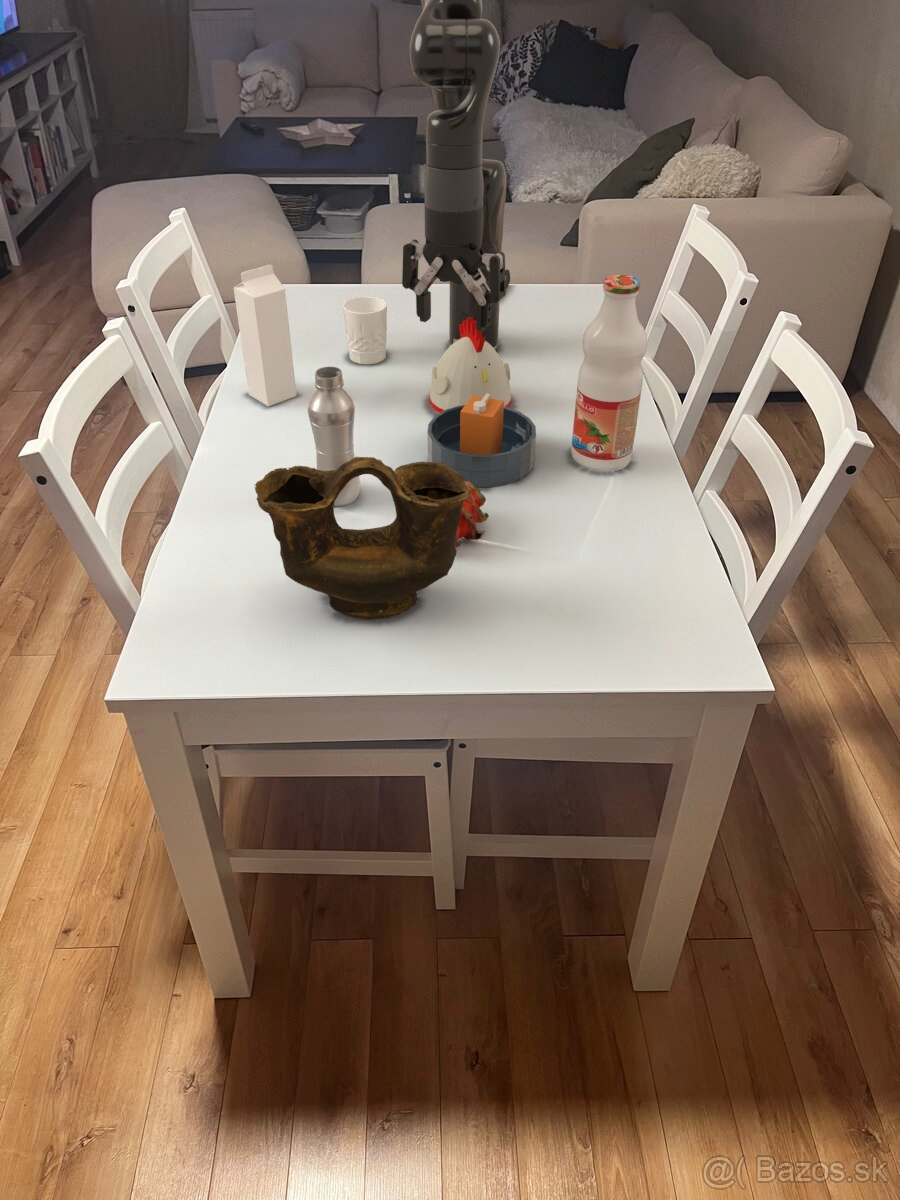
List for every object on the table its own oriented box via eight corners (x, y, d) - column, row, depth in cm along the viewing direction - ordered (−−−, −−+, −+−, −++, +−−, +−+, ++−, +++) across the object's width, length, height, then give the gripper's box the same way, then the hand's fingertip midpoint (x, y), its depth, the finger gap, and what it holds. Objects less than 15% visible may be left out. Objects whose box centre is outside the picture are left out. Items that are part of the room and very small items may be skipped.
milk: (297, 396, 162) (284, 269, 148) (267, 407, 159) (252, 278, 145) (276, 384, 165) (262, 258, 151) (247, 394, 162) (230, 267, 148)
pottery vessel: (268, 631, 114) (247, 492, 101) (272, 576, 122) (253, 442, 110) (473, 618, 116) (477, 480, 103) (463, 565, 124) (465, 432, 112)
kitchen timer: (449, 430, 153) (449, 342, 143) (417, 394, 162) (415, 310, 153) (525, 413, 157) (530, 328, 148) (489, 380, 167) (491, 297, 157)
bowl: (449, 430, 153) (449, 396, 149) (545, 448, 148) (548, 413, 144) (412, 479, 141) (411, 444, 137) (515, 500, 136) (517, 464, 133)
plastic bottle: (368, 492, 138) (361, 365, 125) (350, 516, 133) (340, 387, 120) (328, 484, 140) (317, 358, 127) (309, 508, 135) (295, 379, 122)
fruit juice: (639, 471, 143) (666, 290, 125) (579, 476, 142) (598, 295, 124) (620, 441, 150) (643, 266, 132) (563, 446, 149) (579, 270, 131)
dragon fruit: (471, 520, 135) (450, 578, 127) (423, 487, 133) (399, 544, 125) (505, 488, 129) (486, 547, 121) (456, 453, 127) (433, 511, 119)
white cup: (397, 354, 175) (395, 302, 169) (372, 370, 170) (369, 316, 164) (363, 344, 178) (360, 293, 172) (337, 359, 173) (333, 307, 167)
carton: (471, 447, 147) (472, 389, 140) (501, 453, 145) (504, 394, 139) (459, 464, 143) (460, 405, 136) (490, 470, 141) (493, 410, 135)
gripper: (516, 200, 120) (511, 324, 130) (416, 188, 125) (418, 308, 135) (494, 215, 115) (490, 343, 124) (390, 202, 119) (394, 326, 129)
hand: (453, 324), depth 129 cm, fingers open, 8 cm apart
